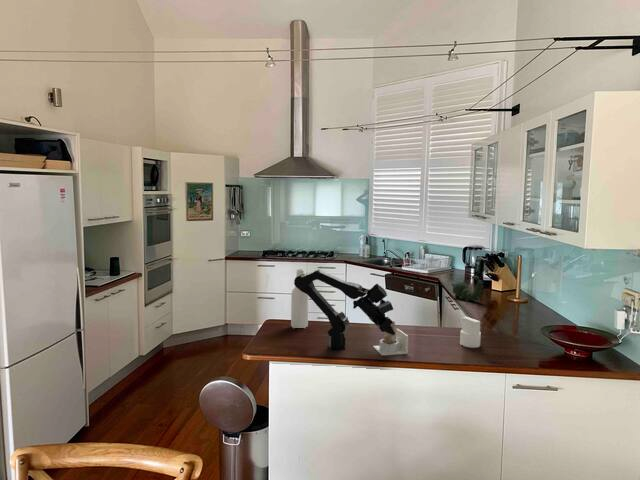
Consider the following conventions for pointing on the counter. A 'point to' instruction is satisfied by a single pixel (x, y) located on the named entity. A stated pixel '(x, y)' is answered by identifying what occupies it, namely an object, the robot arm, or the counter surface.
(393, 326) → the maple rail post
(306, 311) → the alcohol
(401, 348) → the cup bracket
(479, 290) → the toy figurine
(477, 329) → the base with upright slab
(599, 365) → the counter surface
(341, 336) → the robot arm
